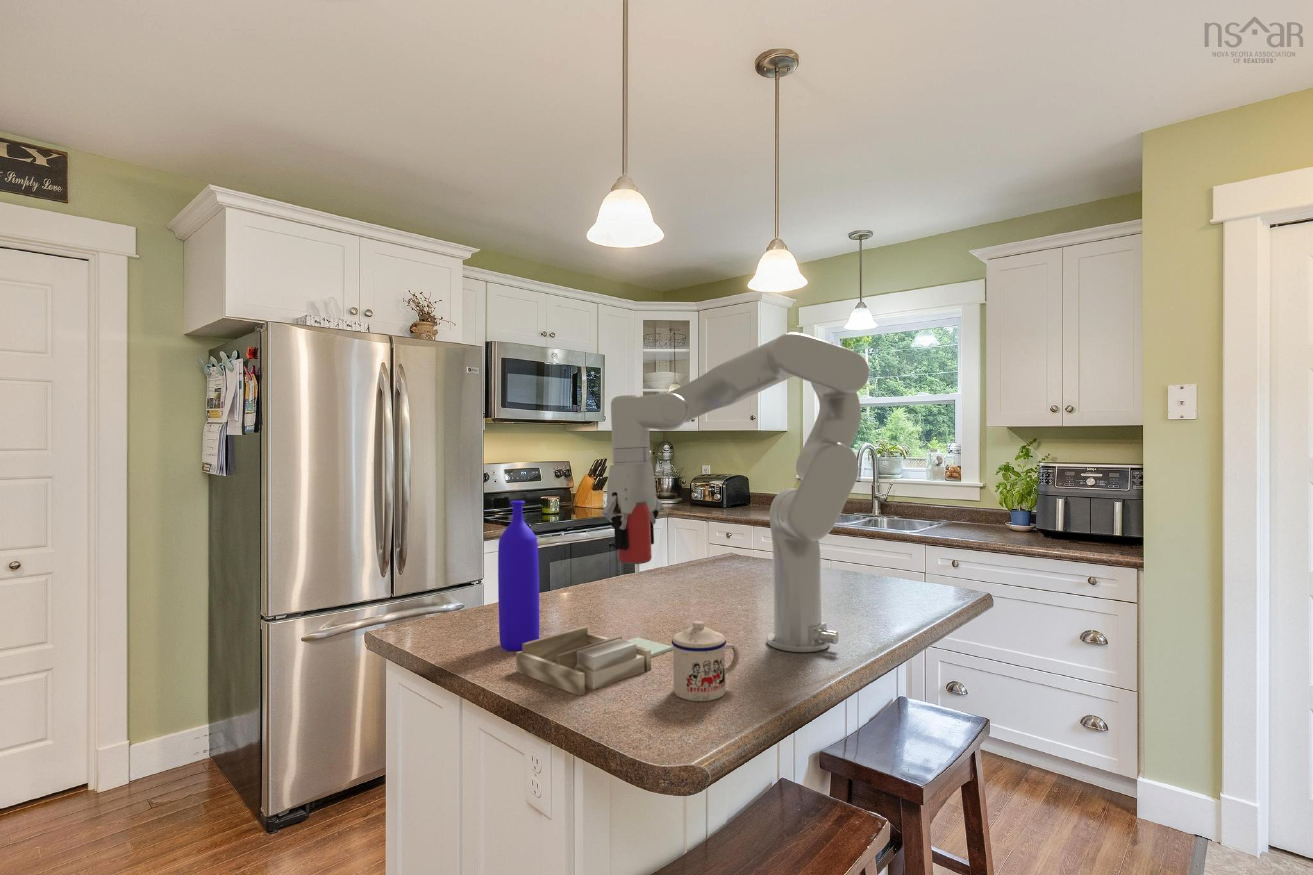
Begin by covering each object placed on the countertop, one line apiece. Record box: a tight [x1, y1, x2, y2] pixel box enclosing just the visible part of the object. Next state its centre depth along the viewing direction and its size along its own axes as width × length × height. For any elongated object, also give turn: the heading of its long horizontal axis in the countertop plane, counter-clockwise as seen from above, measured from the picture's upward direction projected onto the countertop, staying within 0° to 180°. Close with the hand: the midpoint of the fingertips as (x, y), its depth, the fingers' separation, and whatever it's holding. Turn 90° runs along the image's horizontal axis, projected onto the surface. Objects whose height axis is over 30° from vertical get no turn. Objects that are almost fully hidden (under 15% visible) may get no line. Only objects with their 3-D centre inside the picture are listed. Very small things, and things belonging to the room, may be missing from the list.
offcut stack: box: [575, 638, 645, 690], centre depth 119 cm, size 5×12×6 cm, turn 134°
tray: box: [515, 625, 652, 697], centre depth 122 cm, size 18×17×5 cm
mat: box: [626, 636, 673, 658], centre depth 133 cm, size 10×10×1 cm
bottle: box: [497, 500, 540, 652], centre depth 138 cm, size 8×8×30 cm
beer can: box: [617, 502, 652, 565], centre depth 133 cm, size 7×7×12 cm
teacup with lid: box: [671, 620, 740, 702], centre depth 111 cm, size 12×9×12 cm
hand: (634, 545), depth 133 cm, fingers closed on beer can, 6 cm apart
